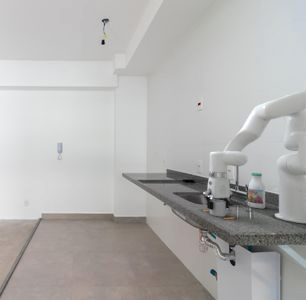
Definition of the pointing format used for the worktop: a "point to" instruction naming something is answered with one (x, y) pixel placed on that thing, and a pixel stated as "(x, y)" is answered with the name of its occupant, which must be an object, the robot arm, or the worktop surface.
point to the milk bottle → (256, 192)
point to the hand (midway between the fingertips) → (218, 208)
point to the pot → (218, 208)
